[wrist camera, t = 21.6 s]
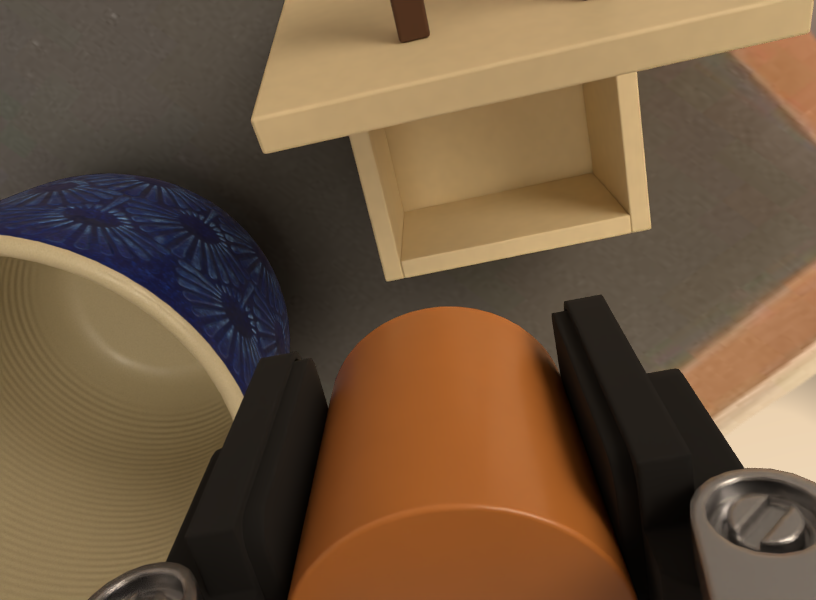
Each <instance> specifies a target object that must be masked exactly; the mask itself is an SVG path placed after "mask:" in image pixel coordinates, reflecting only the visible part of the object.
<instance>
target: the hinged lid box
mask: <svg viewBox="0 0 816 600" xmlns="http://www.w3.org/2000/svg"><path fill="white" fill-rule="evenodd" d="M349 138H350V142H351V146H352V150H353V154H354V158H355V162H356V166H357V169H358V173H359V177H360V181H361V185H362V189H363V193H364V197H365V201H366V205H367V209H368V213H369V217H370V221H371V225H372V229H373V233H374V237H375V241H376V244H377V248H378V252H379V256H380V260H381V264H382V268H383V272H384V276H385V280H386V281H393V280H398V279H403V278H404V277H405V278H408V277H413V276H418V275H423V274H428V273H433V272H438V271H443V270H448V269H453V268H458V267H463V266H468V265H473V264H478V263H483V262H488V261H493V260H498V259H504V258H509V257H514V256H519V255H524V254H529V253H534V252H539V251H544V250H549V249H554V248H559V247H564V246H569V245H574V244H579V243H584V242H589V241H594V240H599V239H604V238H609V237H614V236H619V235H624V234H629V233H631V232H638V231H643V230H648V229H651V220H650V209H649V198H648V188H647V177H646V166H645V155H644V145H643V134H642V123H641V113H640V102H639V91H638V80H637V72H633V73H628V74H624V75H619V76H615V77H610V78H606V79H601V80H597V81H592V82H588V83H583V84H579V85H574V86H570V87H565V88H561V89H556V90H552V91H547V92H543V93H538V94H534V95H529V96H525V97H520V98H516V99H511V100H507V101H502V102H498V103H493V104H489V105H484V106H480V107H475V108H471V109H466V110H462V111H457V112H453V113H448V114H444V115H439V116H435V117H430V118H426V119H421V120H417V121H412V122H408V123H403V124H399V125H394V126H390V127H385V128H381V129H376V130H372V131H367V132H362V133H358V134H353V135H349Z"/></svg>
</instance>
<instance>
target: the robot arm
mask: <svg viewBox="0 0 816 600" xmlns="http://www.w3.org/2000/svg"><path fill="white" fill-rule="evenodd" d="M552 322H553V329H554V336H555V342H556V349H557V355H558V362H559V369H560V375H561V380H562V383H563V385H564V388H565V391H566V394H567V397H568V400H569V403H570V406H571V408H572V411H573V414H574V417H575V420H576V423H577V426H578V429H579V432H580V434H581V437H582V440H583V443H584V446H585V449H586V452H587V455H588V458H589V460H590V463H591V466H592V469H593V472H594V475H595V478H596V481H597V484H598V486H599V489H600V492H601V495H602V498H603V501H604V504H605V507H606V510H607V512H608V515H609V518H610V521H611V524H612V527H613V530H614V533H615V536H616V538H617V541H618V544H619V547H620V550H621V553H622V556H623V559H624V562H625V564H626V567H627V570H628V572H629V575H630V578H631V581H632V583H633V586H634V589H635V592H636V595H637V598H638V600H816V483H815V482H813V481H810V480H808V479H805V478H803V477H801V476H798V475H795V474H793V473H788V472H784V471H779V470H774V469H763V468H744V467H743V465H742V464H741V462H740V461H739V459H738V458H737V456H736V455H735V453H734V452H733V450H732V449H731V447H730V446H729V444H728V442H727V441H726V439H725V438H724V436H723V435H722V433H721V432H720V430H719V429H718V427H717V426H716V424H715V423H714V421H713V420H712V418H711V416H710V415H709V413H708V412H707V410H706V409H705V407H704V406H703V404H702V403H701V401H700V400H699V398H698V397H697V395H696V394H695V392H694V390H693V389H692V387H691V386H690V384H689V383H688V381H687V380H686V378H685V377H684V375H683V374H682V373H681V372H680V370H679V369H670V370H664V371H659V372H653V373H647V374H646V372H645V370H644V368H643V367H642V365H641V363H640V361H639V360H638V358H637V356H636V354H635V352H634V351H633V349H632V347H631V345H630V344H629V342H628V340H627V338H626V336H625V335H624V333H623V331H622V329H621V328H620V326H619V324H618V322H617V320H616V319H615V317H614V315H613V313H612V312H611V310H610V308H609V306H608V305H607V303H606V301H605V299H604V297H603V296H602V295H596V296H591V297H585V298H580V299H575V300H569V301H565V302H564V311H562V312H557V313H552ZM327 413H328V406H327V402H326V399H325V396H324V392H323V389H322V386H321V383H320V379H319V376H318V373H317V369H316V366H315V364H314V362H313V360H312V359H311V358H310V359H304V360H302V359H301V357H300V355H299V354H298V353H297V352H292V353H286V354H281V355H276V356H270V357H265V358H261V359H260V360H259V362H258V364H257V366H256V369H255V371H254V374H253V376H252V378H251V381H250V383H249V385H248V388H247V390H246V392H245V395H244V397H243V400H242V402H241V404H240V407H239V409H238V411H237V414H236V416H235V418H234V421H233V423H232V425H231V428H230V430H229V433H228V435H227V437H226V440H225V442H224V444H223V447H222V448H220V449H218V450H216V451H215V452H214V454H213V455H212V457H211V459H210V461H209V464H208V466H207V468H206V471H205V473H204V475H203V477H202V480H201V482H200V484H199V487H198V489H197V491H196V493H195V496H194V498H193V500H192V503H191V505H190V507H189V509H188V512H187V514H186V516H185V519H184V521H183V523H182V525H181V528H180V530H179V532H178V535H177V537H176V539H175V541H174V544H173V546H172V548H171V550H170V553H169V555H168V557H167V560H166V562H158V563H152V564H146V565H143V566H140V567H137V568H135V569H132V570H129V571H127V572H125V573H123V574H121V575H120V576H118V577H116V578H114V579H113V580H111V581H109V582H108V583H106V584H105V585H104V586H103V587H101V588H100V589H99V590H98V591H96V592H95V593H94V594H93V595H91V596H90V598H89V599H88V600H287V599H288V594H289V589H290V585H291V580H292V576H293V571H294V566H295V562H296V557H297V552H298V548H299V543H300V538H301V534H302V529H303V525H304V520H305V515H306V511H307V506H308V501H309V497H310V492H311V488H312V483H313V478H314V474H315V469H316V464H317V460H318V455H319V450H320V446H321V441H322V437H323V432H324V427H325V423H326V418H327Z"/></svg>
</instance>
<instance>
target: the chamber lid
mask: <svg viewBox="0 0 816 600" xmlns="http://www.w3.org/2000/svg"><path fill="white" fill-rule="evenodd" d="M813 4H814V0H285V2H284V5H283V9H282V12H281V16H280V19H279V23H278V26H277V30H276V33H275V37H274V40H273V44H272V47H271V51H270V54H269V58H268V61H267V65H266V68H265V72H264V75H263V79H262V82H261V86H260V89H259V93H258V96H257V100H256V103H255V107H254V110H253V114H252V117H251V123H252V126H253V128H254V131H255V134H256V136H257V139H258V141H259V144H260V147H261V149H262V151H263V152H264V154H268V153H272V152H277V151H281V150H286V149H290V148H295V147H299V146H304V145H308V144H313V143H317V142H322V141H326V140H331V139H335V138H340V137H344V136H349V135H353V134H358V133H362V132H367V131H372V130H376V129H381V128H385V127H390V126H394V125H399V124H403V123H408V122H412V121H417V120H421V119H426V118H430V117H435V116H439V115H444V114H448V113H453V112H457V111H462V110H466V109H471V108H475V107H480V106H484V105H489V104H493V103H498V102H502V101H507V100H511V99H516V98H520V97H525V96H529V95H534V94H538V93H543V92H547V91H552V90H556V89H561V88H565V87H570V86H574V85H579V84H583V83H588V82H592V81H597V80H601V79H606V78H610V77H615V76H619V75H624V74H628V73H633V72H637V71H642V70H646V69H651V68H655V67H660V66H664V65H669V64H673V63H678V62H682V61H687V60H691V59H696V58H700V57H705V56H709V55H714V54H718V53H723V52H727V51H732V50H736V49H741V48H745V47H750V46H754V45H759V44H763V43H768V42H772V41H777V40H781V39H786V38H790V37H795V36H799V35H804V34H807V33H809V31H810V27H811V19H812V11H813Z"/></svg>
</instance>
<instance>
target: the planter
mask: <svg viewBox="0 0 816 600" xmlns="http://www.w3.org/2000/svg"><path fill="white" fill-rule="evenodd" d="M286 353H290V333H289V321H288V314H287V309H286V304H285V301H284V298H283V294H282V291H281V288H280V285H279V282H278V280H277V278H276V275H275V273H274V271H273V269H272V267H271V265H270V263H269V262H268V260H267V258H266V256H265V255H264V253H263V252H262V251H261V249H260V248H259V246H258V245H257V243H256V242H255V241H254V240H253V238H252V237H251V236H250V235H249V234H248V233H247V231H246V230H245V229H244V228H243V227H242V226H241V225H240V224H239V223H238V222H236V221H235V220H234V219H233V218H232V217H231V216H230V215H228V214H227V213H226V212H225V211H223V210H222V209H221V208H219V207H218V206H216V205H215V204H213V203H212V202H210V201H209V200H207V199H205V198H203V197H201V196H199V195H197V194H196V193H194V192H192V191H189V190H187V189H184V188H182V187H180V186H177V185H175V184H171V183H168V182H165V181H162V180H158V179H154V178H149V177H144V176H137V175H127V174H92V175H82V176H74V177H69V178H65V179H60V180H56V181H53V182H49V183H46V184H43V185H40V186H37V187H34V188H31V189H29V190H26V191H24V192H21V193H18V194H16V195H13V196H11V197H8V198H5V199H3V200H0V600H88V599H89V598H90V596H91V595H93V594H94V593H95V592H96V591H98V590H99V589H100V588H101V587H103V586H104V585H105V584H106V583H108V582H109V581H111V580H113V579H114V578H116V577H118V576H120V575H121V574H123V573H125V572H127V571H129V570H132V569H135V568H137V567H140V566H143V565H146V564H152V563H158V562H166V560H167V557H168V555H169V553H170V550H171V548H172V546H173V544H174V541H175V539H176V537H177V535H178V532H179V530H180V528H181V525H182V523H183V521H184V519H185V516H186V514H187V512H188V509H189V507H190V505H191V503H192V500H193V498H194V496H195V493H196V491H197V489H198V487H199V484H200V482H201V480H202V477H203V475H204V473H205V471H206V468H207V466H208V464H209V461H210V459H211V457H212V455H213V454H214V452H215V451H216V450H218V449H220V448H222V447H223V444H224V442H225V440H226V437H227V435H228V433H229V430H230V428H231V425H232V423H233V421H234V418H235V416H236V414H237V411H238V409H239V407H240V404H241V402H242V400H243V397H244V395H245V392H246V390H247V388H248V385H249V383H250V381H251V378H252V376H253V374H254V371H255V369H256V366H257V364H258V362H259V360H260V359H261V358H265V357H270V356H276V355H281V354H286Z"/></svg>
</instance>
